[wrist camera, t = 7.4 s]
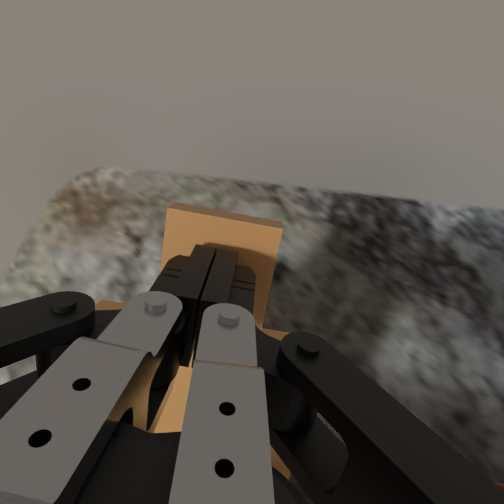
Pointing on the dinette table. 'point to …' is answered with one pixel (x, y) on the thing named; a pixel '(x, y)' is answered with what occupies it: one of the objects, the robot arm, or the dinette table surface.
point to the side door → (250, 255)
